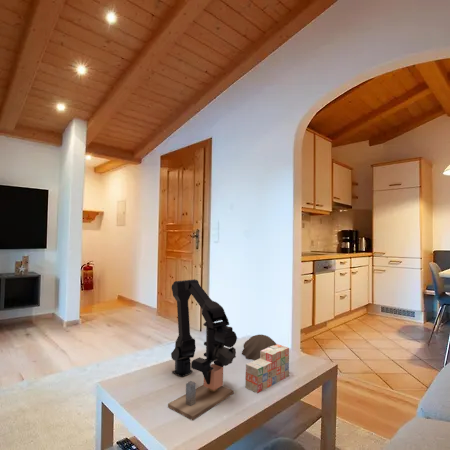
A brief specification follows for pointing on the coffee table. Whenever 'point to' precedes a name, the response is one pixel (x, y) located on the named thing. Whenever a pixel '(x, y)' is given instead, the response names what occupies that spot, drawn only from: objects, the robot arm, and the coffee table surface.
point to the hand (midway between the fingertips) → (213, 381)
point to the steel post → (190, 393)
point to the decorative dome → (256, 346)
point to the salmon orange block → (215, 377)
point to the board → (200, 401)
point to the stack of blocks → (268, 368)
